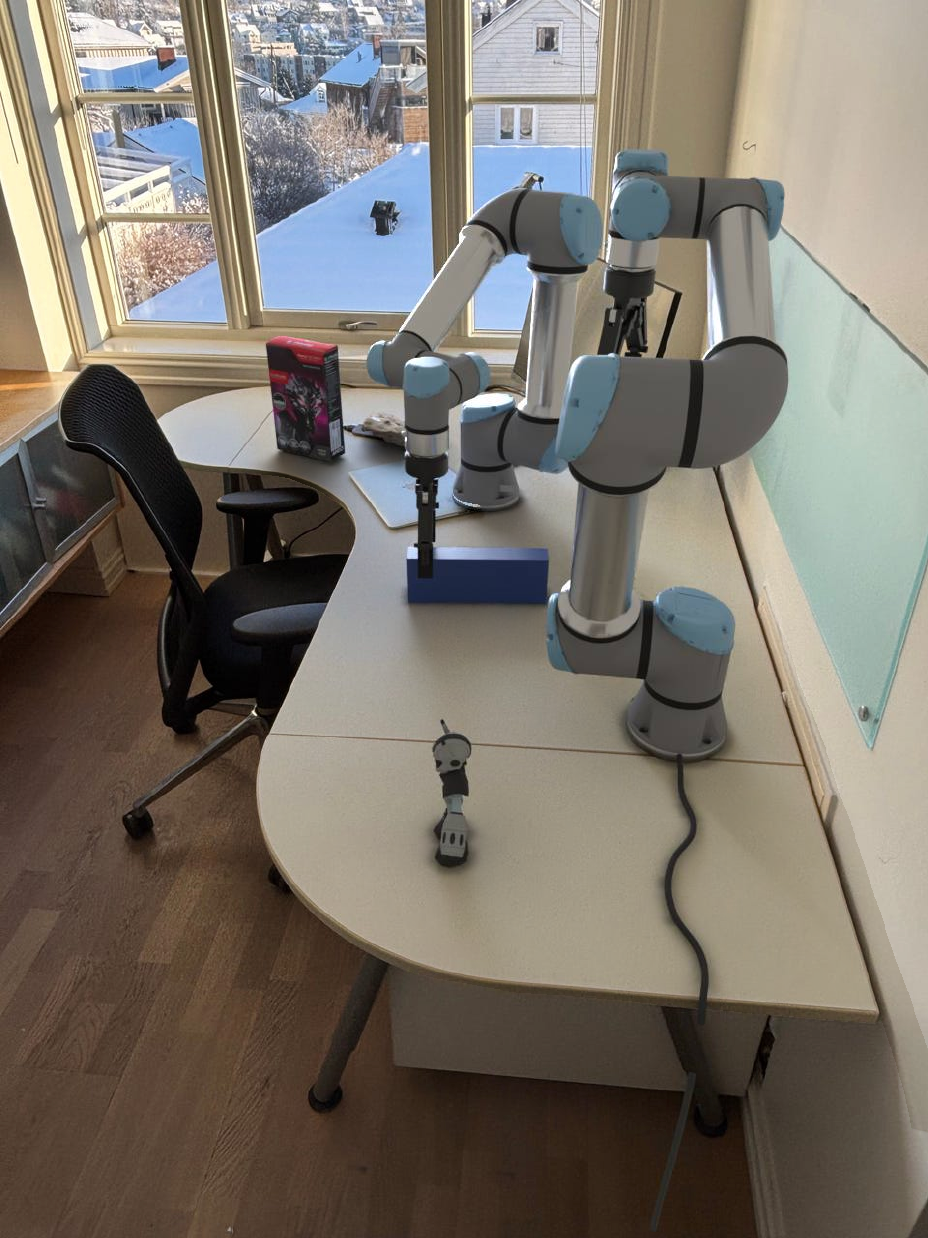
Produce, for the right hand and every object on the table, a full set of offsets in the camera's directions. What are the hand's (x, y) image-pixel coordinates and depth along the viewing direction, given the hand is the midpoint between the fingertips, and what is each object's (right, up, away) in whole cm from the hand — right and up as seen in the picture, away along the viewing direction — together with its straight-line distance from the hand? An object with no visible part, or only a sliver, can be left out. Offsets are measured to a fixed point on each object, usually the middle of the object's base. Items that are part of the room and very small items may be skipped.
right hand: (616, 404), depth 148 cm
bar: (-22, -30, +27) cm, 46 cm away
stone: (-41, +10, +87) cm, 97 cm away
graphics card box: (-63, +7, +81) cm, 103 cm away
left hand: (-31, -23, +22) cm, 45 cm away
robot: (-26, -65, -25) cm, 74 cm away
